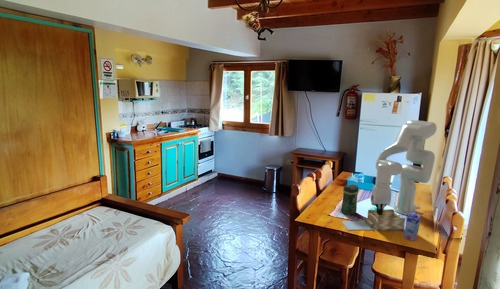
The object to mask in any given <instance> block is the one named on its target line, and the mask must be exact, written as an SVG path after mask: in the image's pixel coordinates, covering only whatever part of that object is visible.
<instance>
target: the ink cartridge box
mask: <svg viewBox="0 0 500 289" xmlns="http://www.w3.org/2000/svg"><path fill="white" fill-rule="evenodd" d="M421 218H422V215H421V214H420V213H419V212H415V213H412V212H411V213H410V215H407V217H406V220H405V226H404V234H403V238H404V239H406V240H410V241H412V242H414V241H415V240H416V238H417V237H418V235H419V229H420V223H421Z"/></svg>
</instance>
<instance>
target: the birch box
mask: <svg viewBox="0 0 500 289" xmlns="http://www.w3.org/2000/svg"><path fill="white" fill-rule="evenodd" d="M376 211H377V210H370V209H368V210H367V216H366V218H368V219H369V220H370V221H371V222H372V223H373V227H374V228H375V230H374V231H376V232H381V231H382V232H385V231H386V232H387V231H388V232H391V231H405V225H406V217H401V216H400V215H398V214H397V212H395V210H394V208H392V209H385V208H384V210H383V213H382V215H378V214H377V212H376Z"/></svg>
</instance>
